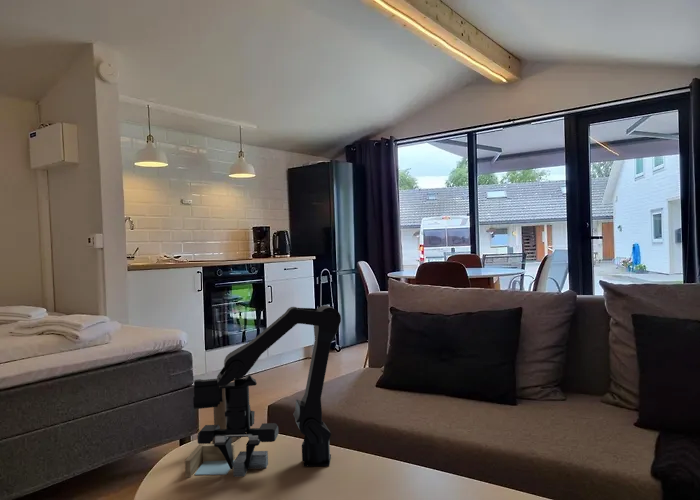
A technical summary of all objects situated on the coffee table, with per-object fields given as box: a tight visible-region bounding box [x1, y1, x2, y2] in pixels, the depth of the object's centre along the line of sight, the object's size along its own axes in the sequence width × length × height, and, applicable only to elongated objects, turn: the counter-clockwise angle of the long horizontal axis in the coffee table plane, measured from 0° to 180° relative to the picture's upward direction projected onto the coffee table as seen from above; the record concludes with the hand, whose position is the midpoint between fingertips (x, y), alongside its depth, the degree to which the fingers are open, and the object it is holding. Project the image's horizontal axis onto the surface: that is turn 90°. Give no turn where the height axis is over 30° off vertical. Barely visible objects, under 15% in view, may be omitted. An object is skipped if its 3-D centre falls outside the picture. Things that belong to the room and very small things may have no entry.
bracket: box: [232, 450, 269, 478], centre depth 127 cm, size 7×7×4 cm
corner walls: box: [184, 442, 236, 478], centre depth 130 cm, size 9×11×4 cm
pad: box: [193, 459, 235, 476], centre depth 129 cm, size 8×8×1 cm
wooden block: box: [211, 386, 241, 444], centre depth 148 cm, size 4×11×18 cm, turn 160°
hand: (239, 468), depth 126 cm, fingers open, 4 cm apart
